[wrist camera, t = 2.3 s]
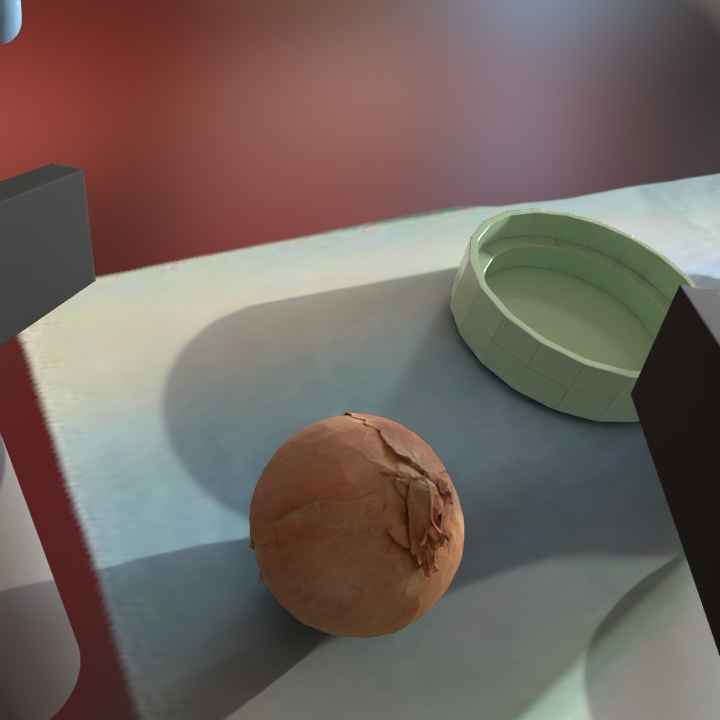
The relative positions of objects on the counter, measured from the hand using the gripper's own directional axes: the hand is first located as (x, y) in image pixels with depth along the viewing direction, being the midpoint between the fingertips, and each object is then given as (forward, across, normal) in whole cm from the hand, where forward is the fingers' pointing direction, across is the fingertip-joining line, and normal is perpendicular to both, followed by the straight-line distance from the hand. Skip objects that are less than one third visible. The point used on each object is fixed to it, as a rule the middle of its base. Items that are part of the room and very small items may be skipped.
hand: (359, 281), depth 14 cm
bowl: (+31, +12, -15) cm, 37 cm away
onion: (+8, 0, -19) cm, 20 cm away
